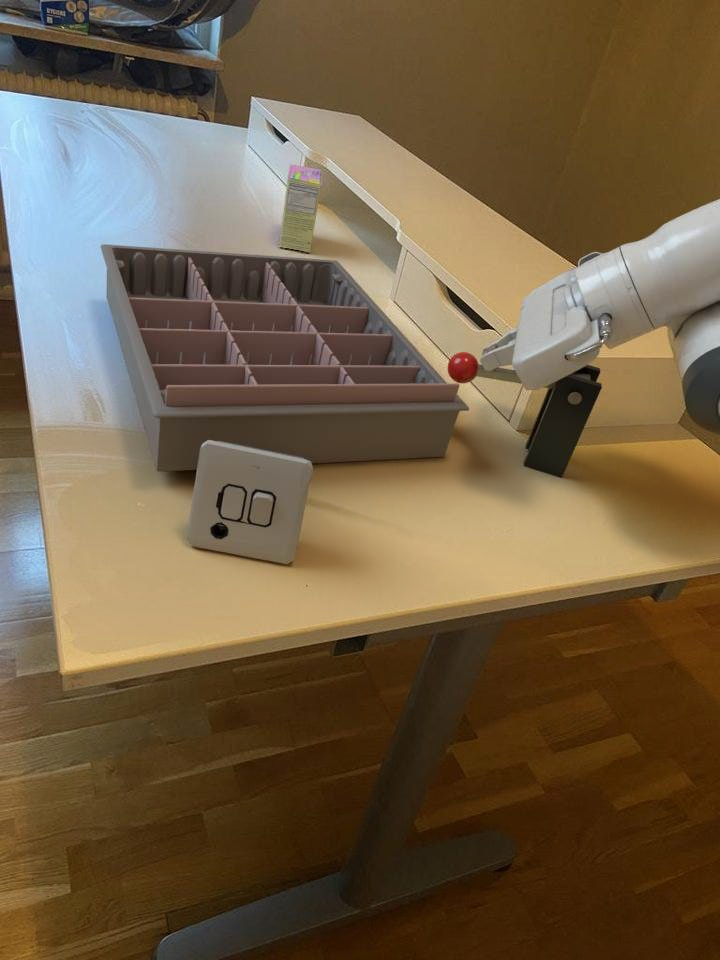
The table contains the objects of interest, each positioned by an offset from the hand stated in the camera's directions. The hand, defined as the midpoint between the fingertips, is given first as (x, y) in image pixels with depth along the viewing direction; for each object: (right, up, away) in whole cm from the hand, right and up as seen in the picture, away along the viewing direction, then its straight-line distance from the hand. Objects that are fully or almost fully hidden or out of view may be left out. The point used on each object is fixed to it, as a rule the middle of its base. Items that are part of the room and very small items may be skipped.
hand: (483, 360), depth 80 cm
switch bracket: (+7, -12, +5) cm, 15 cm away
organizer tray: (-25, -1, +9) cm, 27 cm away
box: (-25, +30, +53) cm, 66 cm away
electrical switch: (-24, -18, -15) cm, 33 cm away
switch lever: (+3, -3, +1) cm, 5 cm away
